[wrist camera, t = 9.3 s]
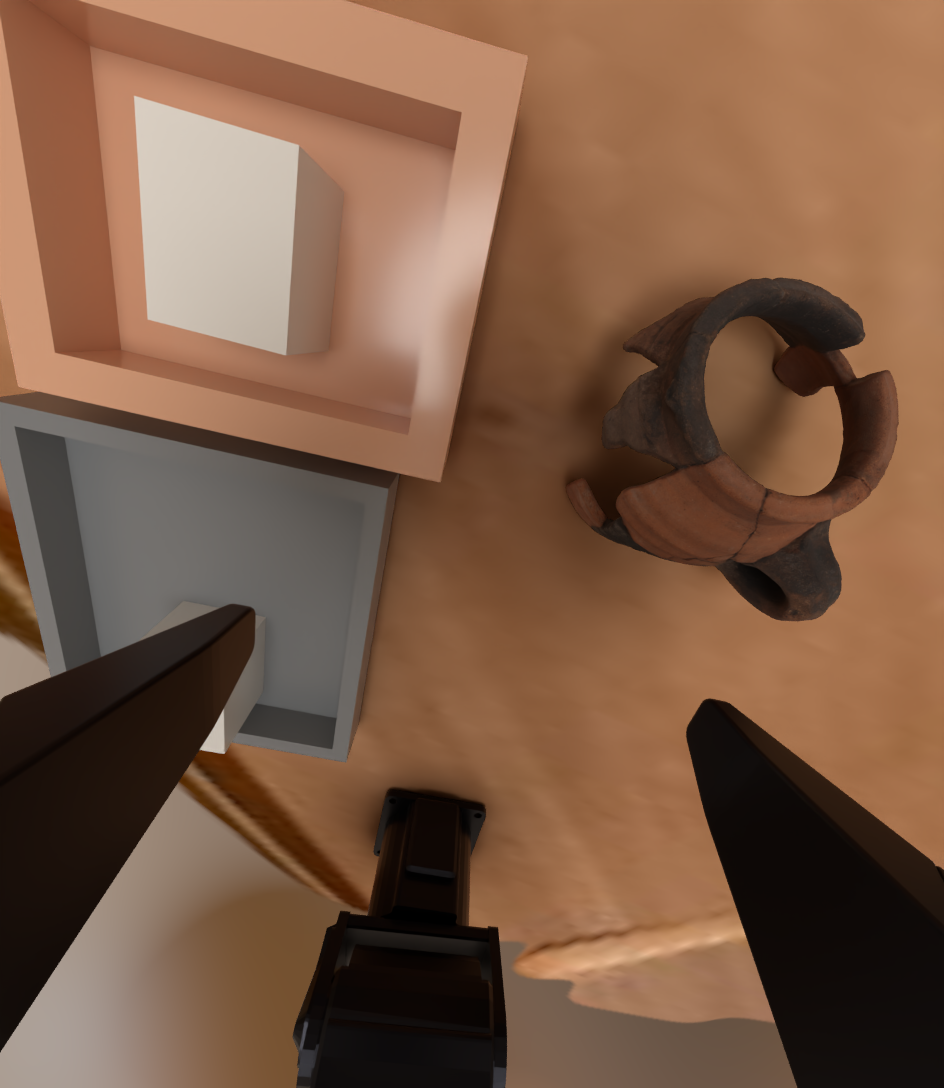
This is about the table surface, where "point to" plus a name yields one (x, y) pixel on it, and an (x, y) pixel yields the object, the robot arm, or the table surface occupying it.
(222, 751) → the off-white rectangular prism
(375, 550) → the parts tray
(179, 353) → the terracotta dish
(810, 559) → the brown curved piece
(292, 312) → the cream rectangular block
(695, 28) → the table surface
